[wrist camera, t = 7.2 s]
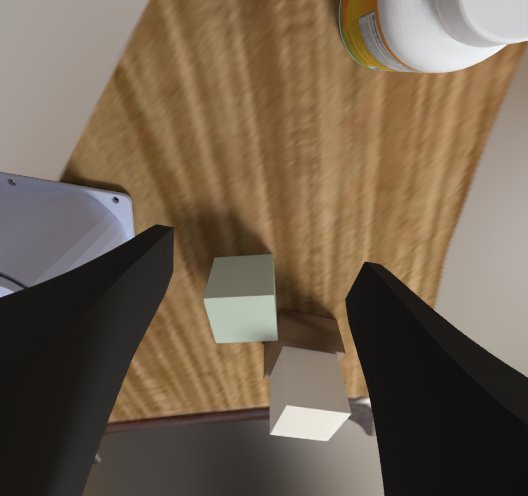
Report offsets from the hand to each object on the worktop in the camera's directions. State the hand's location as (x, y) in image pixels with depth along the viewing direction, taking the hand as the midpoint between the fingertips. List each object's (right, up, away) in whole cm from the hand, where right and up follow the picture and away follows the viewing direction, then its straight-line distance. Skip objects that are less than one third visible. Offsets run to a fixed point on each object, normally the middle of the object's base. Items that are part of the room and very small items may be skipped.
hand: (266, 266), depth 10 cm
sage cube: (-2, -2, +14) cm, 14 cm away
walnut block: (+4, -8, +18) cm, 20 cm away
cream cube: (+3, -10, +15) cm, 19 cm away
